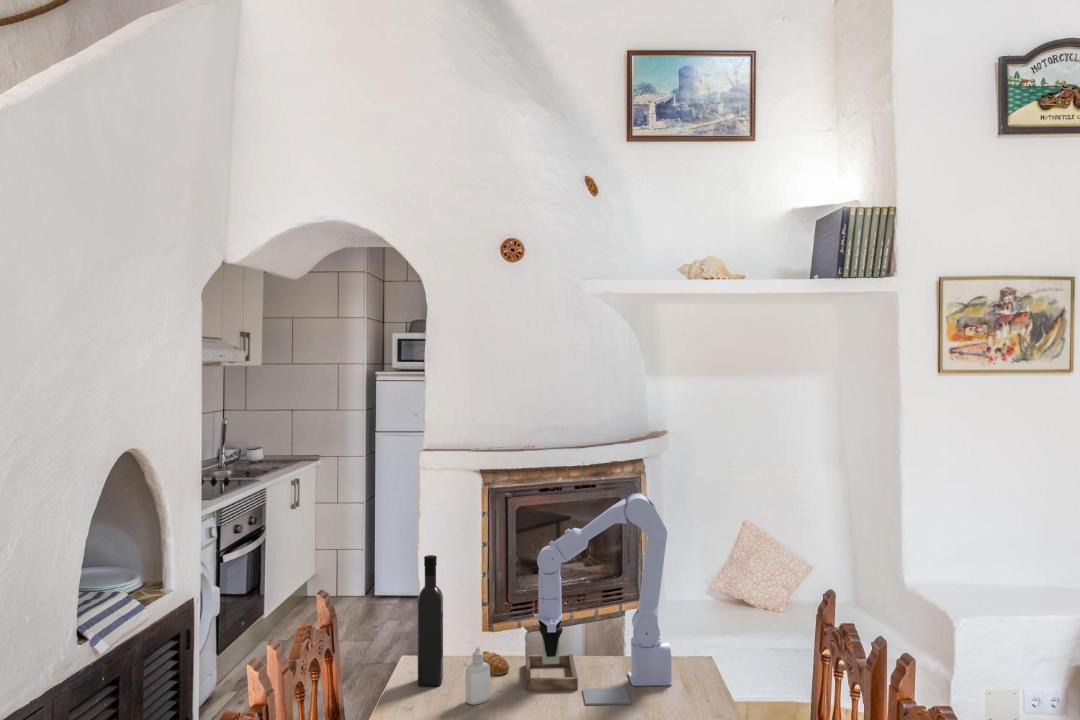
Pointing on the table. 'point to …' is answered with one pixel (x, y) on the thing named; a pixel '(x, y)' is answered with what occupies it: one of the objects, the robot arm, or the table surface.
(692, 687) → the table surface
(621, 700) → the mat
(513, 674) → the table surface
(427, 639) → the wine bottle
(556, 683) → the box
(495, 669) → the pastry
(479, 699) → the eye dropper bottle
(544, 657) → the wood block
